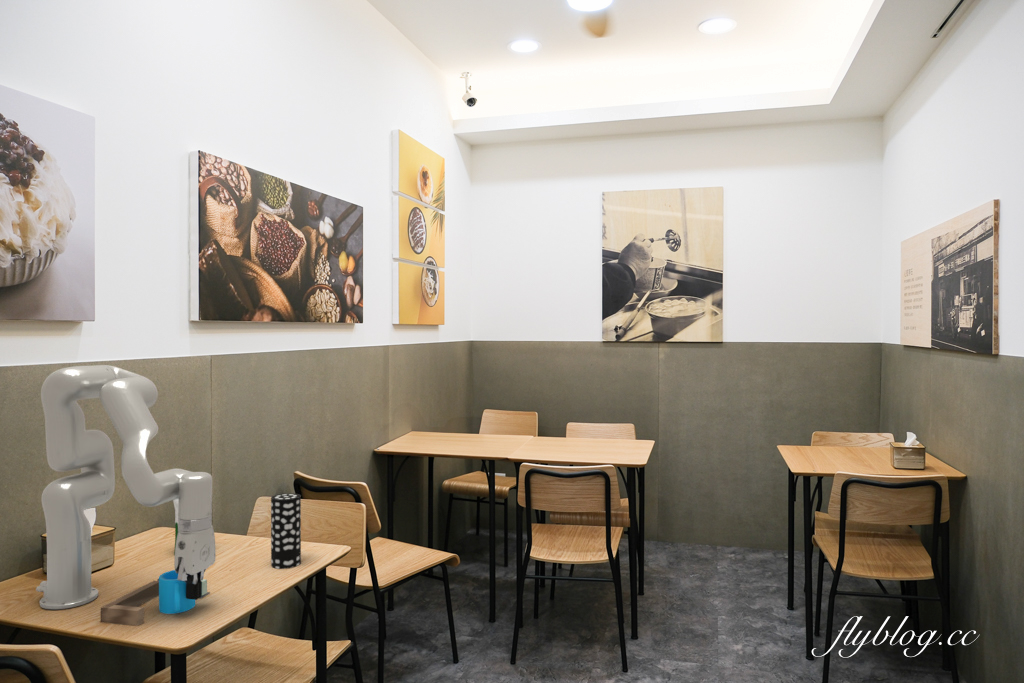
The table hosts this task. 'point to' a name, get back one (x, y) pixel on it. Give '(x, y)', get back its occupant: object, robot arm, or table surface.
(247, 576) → the table surface
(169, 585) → the mug
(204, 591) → the leg
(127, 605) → the dock
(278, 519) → the white-spotted black cylinder
